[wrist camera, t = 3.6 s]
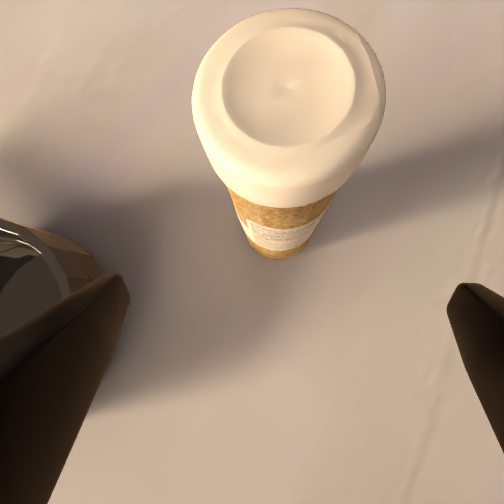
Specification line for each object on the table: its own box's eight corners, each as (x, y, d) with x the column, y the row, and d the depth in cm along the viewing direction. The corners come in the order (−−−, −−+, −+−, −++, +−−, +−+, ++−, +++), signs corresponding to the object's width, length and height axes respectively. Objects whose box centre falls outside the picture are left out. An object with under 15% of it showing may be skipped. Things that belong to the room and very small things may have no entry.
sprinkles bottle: (250, 191, 20) (205, -9, 7) (316, 199, 20) (401, 1, 7) (240, 256, 20) (169, 169, 6) (307, 265, 19) (384, 194, 6)
